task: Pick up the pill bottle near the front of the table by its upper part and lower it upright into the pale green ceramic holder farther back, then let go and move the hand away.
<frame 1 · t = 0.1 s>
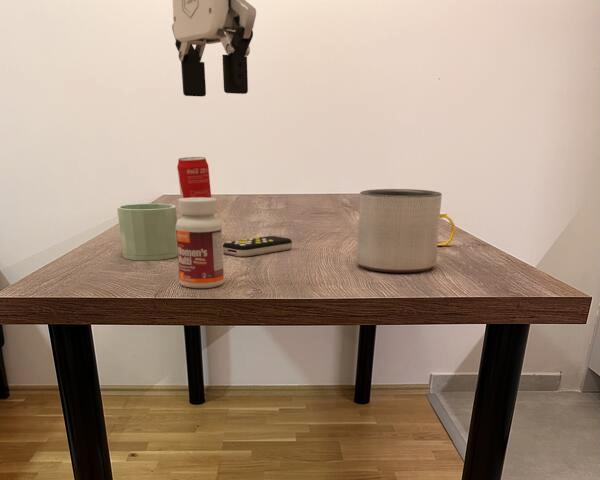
hand: (214, 94, 81), 24 cm above the table, tool pointing down, fingers open, 9 cm apart
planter: (395, 267, 102), on the table
pill bottle: (202, 285, 89), on the table
holder: (151, 255, 110), on the table
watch: (436, 247, 120), on the table
remote control: (258, 252, 114), on the table
beverage can: (199, 241, 125), on the table
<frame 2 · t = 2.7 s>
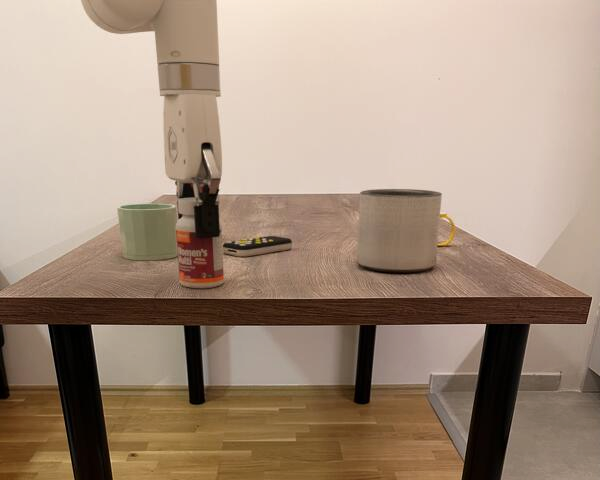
hand: (199, 232, 86), 7 cm above the table, tool pointing down, fingers closed on pill bottle, 6 cm apart
pill bottle: (202, 285, 89), on the table, touching gripper
everything else where it was.
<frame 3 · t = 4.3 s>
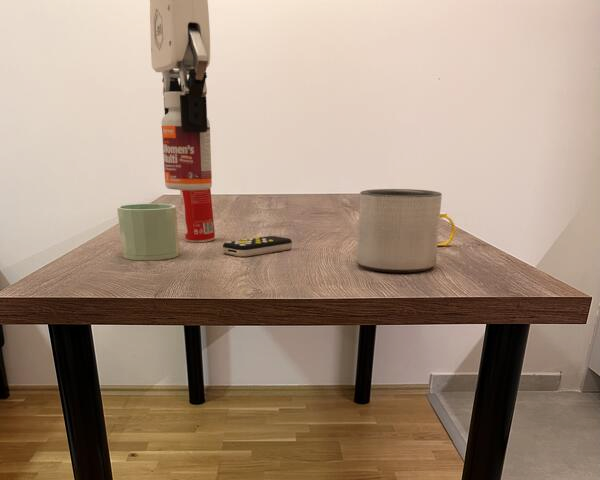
hand: (186, 130, 82), 20 cm above the table, tool pointing down, fingers closed on pill bottle, 6 cm apart
pill bottle: (189, 190, 85), point 12 cm above the table, touching gripper
everything else where it was.
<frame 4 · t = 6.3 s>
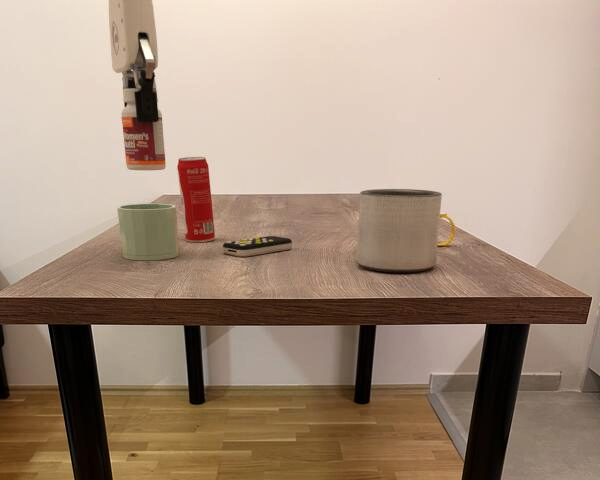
hand: (142, 120, 99), 21 cm above the table, tool pointing down, fingers closed on pill bottle, 6 cm apart
pill bottle: (146, 171, 102), point 14 cm above the table, touching gripper
everything else where it was.
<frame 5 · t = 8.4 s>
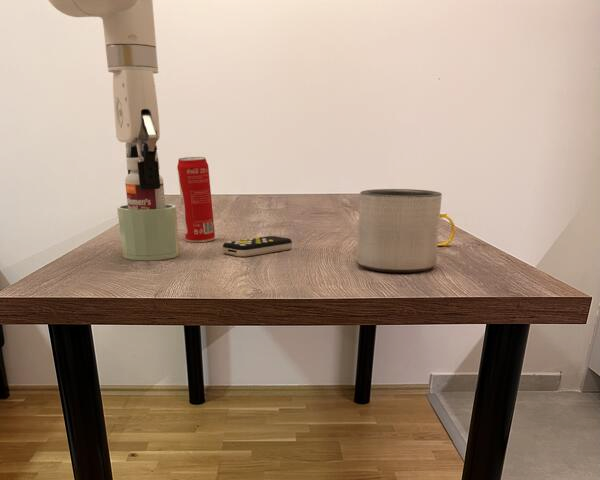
hand: (144, 186, 105), 11 cm above the table, tool pointing down, fingers closed on pill bottle, 6 cm apart
pill bottle: (149, 231, 108), point 4 cm above the table, touching gripper
everything else where it was.
when the fingers open (8 cm above the table, at t = 10.3 s): pill bottle stays where it is, resting on holder.
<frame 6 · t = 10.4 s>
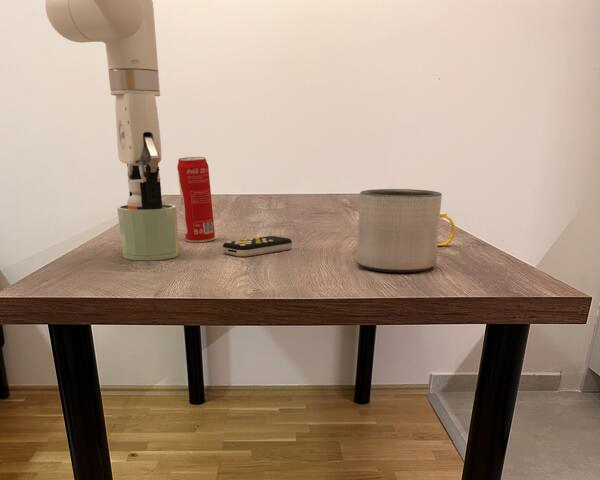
hand: (146, 205, 106), 8 cm above the table, tool pointing down, fingers open, 7 cm apart
pill bottle: (150, 252, 109), point 1 cm above the table, touching holder
everything else where it was.
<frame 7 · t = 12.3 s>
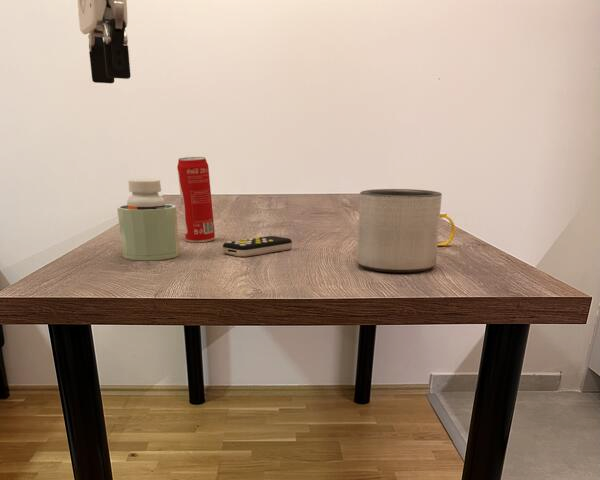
hand: (110, 80, 92), 26 cm above the table, tool pointing down, fingers open, 9 cm apart
nothing on the table moved.
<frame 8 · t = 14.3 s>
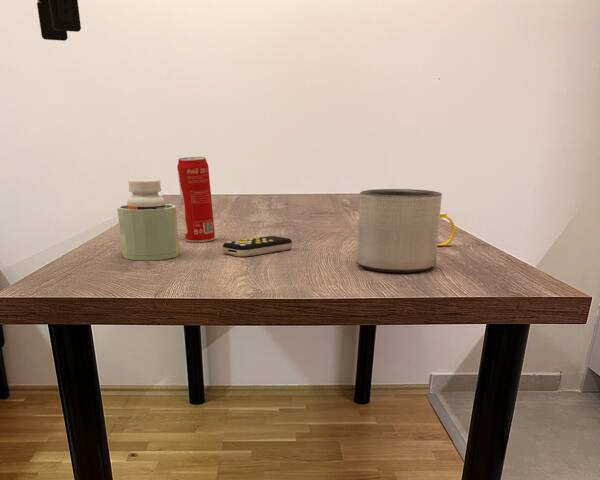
hand: (60, 35, 80), 30 cm above the table, tool pointing down, fingers open, 9 cm apart
nothing on the table moved.
at the end: pill bottle 0.0 cm off-centre in the holder, point 0.6 cm above the holder's base; pill bottle tilted 0°; the gripper is holding nothing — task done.
